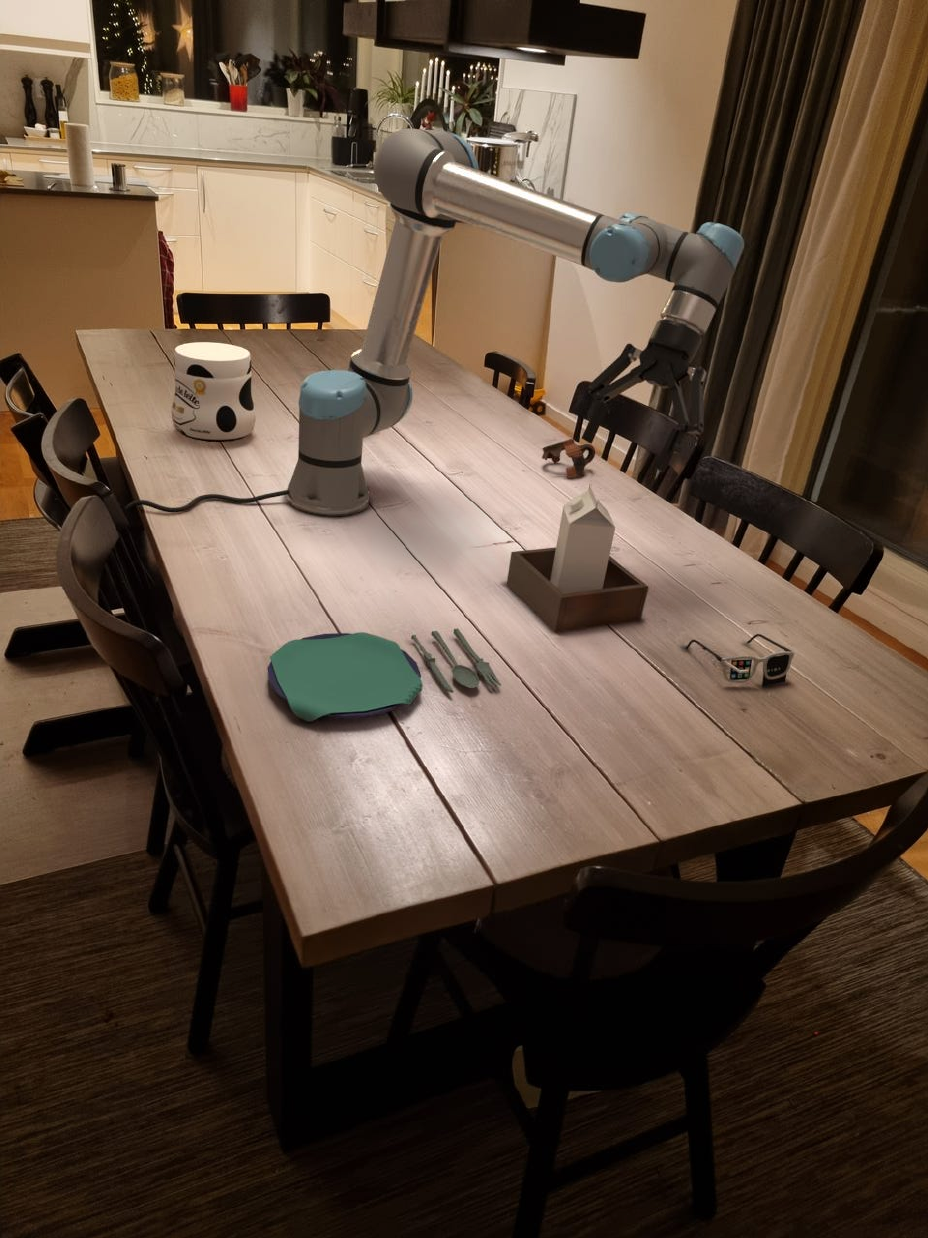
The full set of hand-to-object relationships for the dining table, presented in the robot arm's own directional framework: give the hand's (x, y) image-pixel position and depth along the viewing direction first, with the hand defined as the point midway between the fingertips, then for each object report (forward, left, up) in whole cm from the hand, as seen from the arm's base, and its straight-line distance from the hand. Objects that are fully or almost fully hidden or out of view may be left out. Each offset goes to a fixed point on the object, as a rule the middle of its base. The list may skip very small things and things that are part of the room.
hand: (622, 455), depth 145 cm
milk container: (-47, +80, -23) cm, 96 cm away
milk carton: (-8, -6, -23) cm, 25 cm away
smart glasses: (+6, -31, -23) cm, 38 cm away
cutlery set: (-46, -19, -23) cm, 55 cm away
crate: (-8, -6, -22) cm, 25 cm away
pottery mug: (+24, +49, -23) cm, 59 cm away
